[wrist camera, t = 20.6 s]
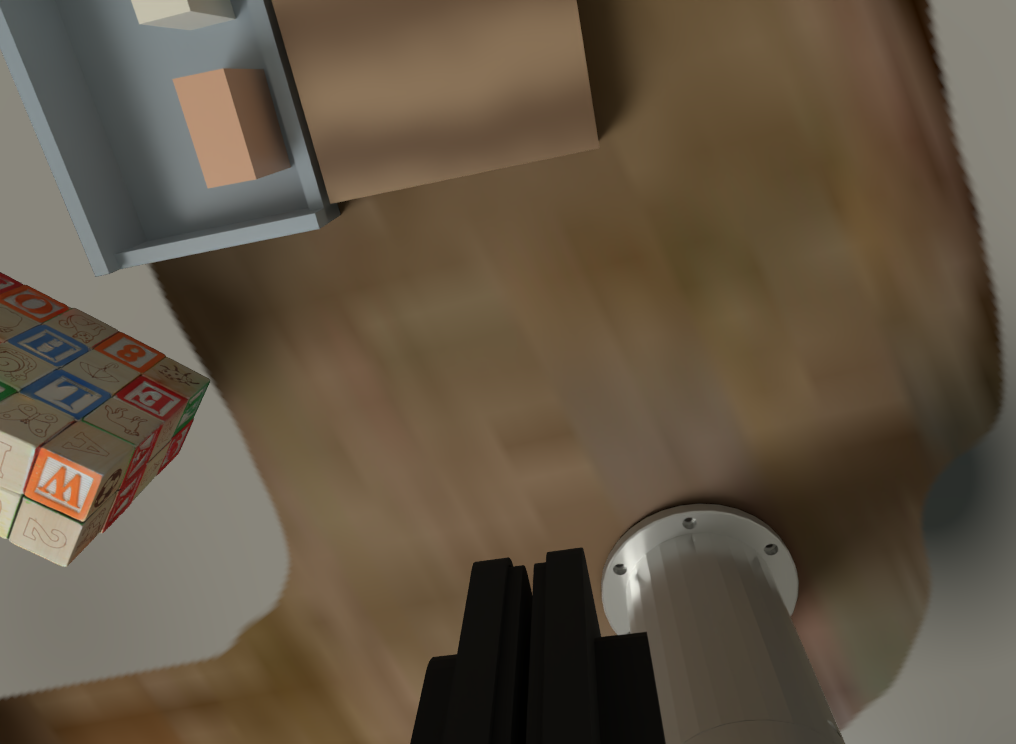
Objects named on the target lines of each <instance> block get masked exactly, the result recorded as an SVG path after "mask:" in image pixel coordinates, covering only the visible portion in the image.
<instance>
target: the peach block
mask: <svg viewBox="0 0 1016 744" xmlns="http://www.w3.org/2000/svg"><path fill="white" fill-rule="evenodd" d="M172 80H173V83H174V86H175V89H176V92H177V95H178V98H179V101H180V104H181V107H182V111H183V114H184V117H185V120H186V123H187V126H188V129H189V132H190V135H191V138H192V141H193V145H194V148H195V151H196V154H197V157H198V160H199V163H200V166H201V169H202V172H203V175H204V178H205V182H206V185H207V188H213V187H219V186H224V185H229V184H235V183H240V182H245V181H251V180H256V179H259V178H262V177H265V176H268V175H270V174H273V173H276V172H279V171H282V170H285V169H288V168H291V165H290V161H289V158H288V154H287V151H286V147H285V144H284V140H283V136H282V133H281V129H280V126H279V122H278V119H277V115H276V111H275V108H274V104H273V101H272V97H271V94H270V90H269V87H268V83H267V79H266V76H265V72H264V69H231V68H222V69H218V70H213V71H208V72H203V73H199V74H194V75H189V76H184V77H180V78H175V79H172Z"/></svg>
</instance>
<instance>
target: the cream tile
mask: <svg viewBox="0 0 1016 744" xmlns="http://www.w3.org/2000/svg"><path fill="white" fill-rule="evenodd" d="M131 2H132V5H133V8H134V10H135V13H136V16H137V19H138V22H139V24H142V25H150V26H158V27H166V28H174V29H183V30H194V29H198V28H202V27H206V26H210V25H214V24H218V23H222V22H226V21H230V20H234V19H236V17H235V14H234V11H233V8H232V5H231V1H230V0H131Z"/></svg>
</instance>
